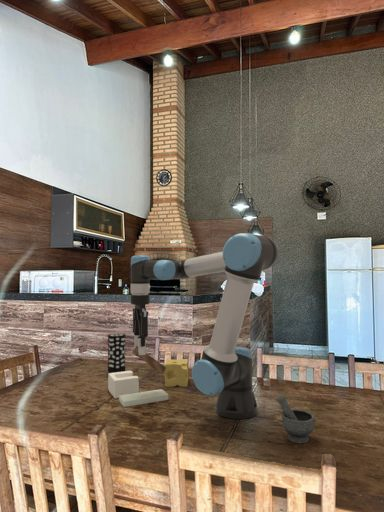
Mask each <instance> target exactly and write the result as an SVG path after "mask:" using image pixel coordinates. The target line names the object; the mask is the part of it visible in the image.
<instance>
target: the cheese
mask: <svg viewBox="0 0 384 512" xmlns="http://www.w3.org/2000/svg"><path fill="white" fill-rule="evenodd" d="M164 367H166V369H165V371H164V386H165V387H166V388H167V387H169V388H170V387H173V388H174V387H181V388H183V387H185V388H188V386H189V385H188V384H189V359H188V358H182V359H181V358H180V359H178V358H177V359H166V362H165V364H164Z"/></svg>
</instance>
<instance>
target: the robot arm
mask: <svg viewBox="0 0 384 512" xmlns="http://www.w3.org/2000/svg"><path fill="white" fill-rule="evenodd" d="M278 256H279V250H278V246H277V244H276V242H275V241H274V240H273V239H272V238H269V237H268V236H266V235H259V234H254V233H248V232H244V233H236V234H234V235H232V236H231V237H230V238H228V240H227V241H226V242H225V243H224V245H223V249H222V251H219V252H215V253H211V254H205V255H200V256H199V255H198V256H195V257H191V258H185V259H182V260H169V259H157V260H156V259H154V260H151V258H150V256H149V255H133V256H131V258H130V294H131V295H130V304H131V305H134V308H132V310H131V311H132V333H133V337H134V341H133V345H134V349H135V348H136V346H138V355H146V353H147V351H146V350H147V349H146V348H147V345H146V344H147V338H148V337H149V311H147V309H146V305H149V304H150V303H151V301H150V300H151V299H150V293H151V292H150V289H151V285H150V283H151V282H150V280H151V281H152V280H154V281H155V280H156V281H159V280H160V281H168V280H186V279H190V278H194V277H200V276H205V275H212V274H218V273H225V274H226V276H227V278H226V280H225V281H226V282H225V284H224V285H225V286H224V289H223V292H222V297H221V300H220V303H219V308H218V312H217V315H216V318H215V319H216V320H215V323H214V327H213V331H212V335H211V338H210V341H209V344H207V345H205V346H204V348H203V351H202V354H201V357H200V359H198V360H196V362H195V363H193V365H192V368H191V379H192V381H193V382H194V386H195V387H196V388H197V390H198V391H200V392H201V393H202V394H204V395H207V396H214V395H217V394H218V395H217V399H216V402H215V412H216V413H217V415H219V416H221V417H224V418H227V419H231V420H232V419H233V420H243V419H250V418H253V417H255V416H256V415H257V414H258V408H259V407H258V402H257V399H256V397H255V394H254V391H253V359H254V358H253V353H252V350H251V349H250V348H247V347H243V346H237V344H238V342H239V337H240V334H241V330H242V327H243V324H244V318H245V315H246V312H247V309H248V304H249V301H250V299H251V298H250V297H251V294H252V291H253V287H254V284H256V283H257V282H259V281H260V280H261V276H262V273H263V271H265V270H268V269H270V268H272V266H274V265H275V264H276V262H277V260H278ZM134 349H133V350H134Z"/></svg>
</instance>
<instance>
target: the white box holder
mask: <svg viewBox="0 0 384 512" xmlns="http://www.w3.org/2000/svg"><path fill="white" fill-rule="evenodd" d="M107 379H108V380H107V381H108V382H107V388H108V389H107V390H108V391H109V393H110V394H111V396H112V397H113V398H114V399H119V396H120V395H126V394H133V393H140V390H139V389H140V385H139V384H140V383H139V379H140V378H139V376H138V375H134V372H133V371H132V370H125V371H123V372H115V373H108V372H107Z"/></svg>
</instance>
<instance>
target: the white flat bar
mask: <svg viewBox="0 0 384 512" xmlns="http://www.w3.org/2000/svg"><path fill="white" fill-rule="evenodd" d="M162 401H169V394H168V392H166V391H165V390H164V389H163V388H162V389H155V390H154V389H153V390H148V391H141V392H140V391H139V393H133V394H126V395H120V396H119V398H118V402H119V403H120V404H121V405H122V407H123V408H126V407H132V406H138V405H145V404H151V403H157V402H158V403H159V402H162Z"/></svg>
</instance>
